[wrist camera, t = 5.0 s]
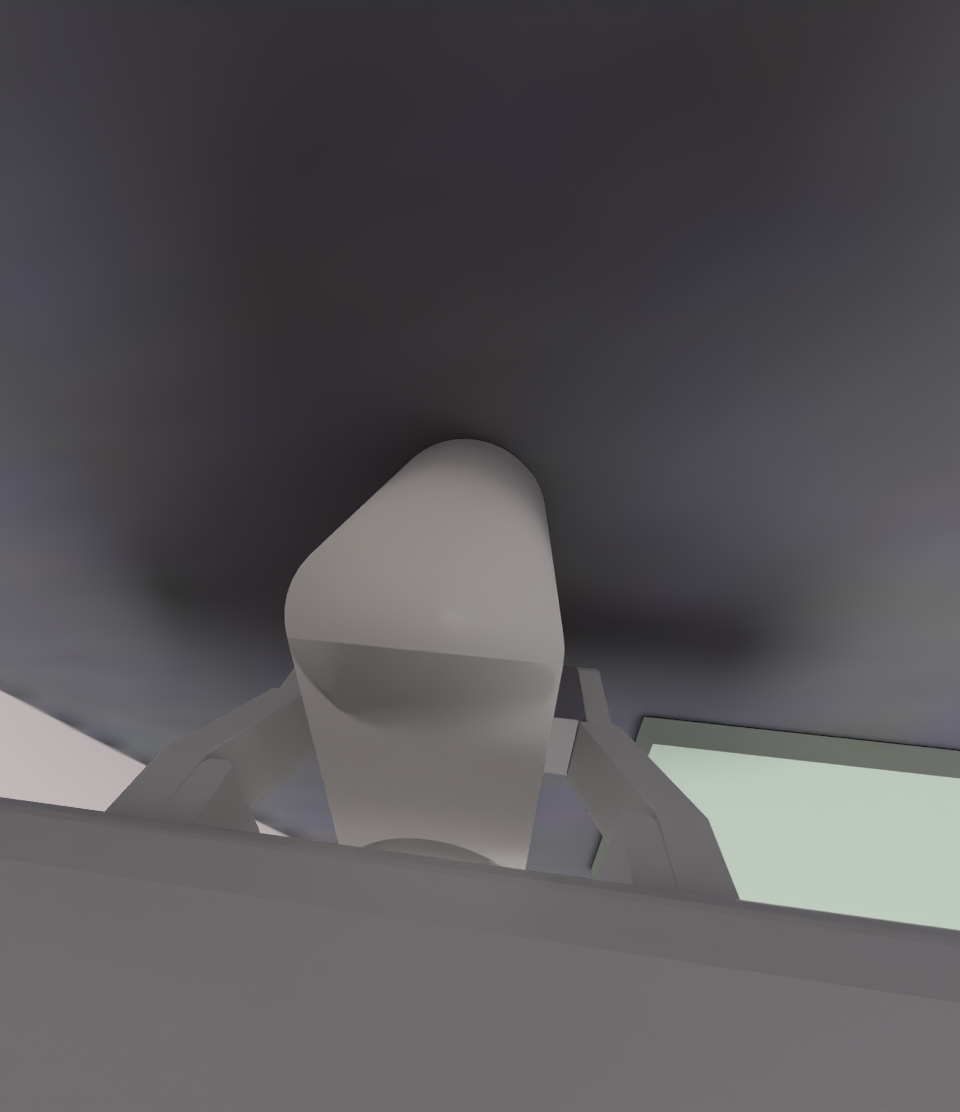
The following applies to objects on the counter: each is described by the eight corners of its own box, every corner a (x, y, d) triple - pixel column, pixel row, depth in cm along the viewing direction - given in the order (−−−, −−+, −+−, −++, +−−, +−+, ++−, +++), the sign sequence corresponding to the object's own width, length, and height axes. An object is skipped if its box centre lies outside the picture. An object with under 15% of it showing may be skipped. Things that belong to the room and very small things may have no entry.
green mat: (643, 716, 13) (653, 744, 12) (1117, 768, 12) (1165, 801, 11) (591, 869, 17) (594, 897, 16) (925, 915, 16) (948, 947, 15)
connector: (385, 433, 9) (253, 508, 5) (555, 443, 9) (588, 534, 4) (411, 788, 16) (367, 959, 11) (509, 801, 15) (504, 981, 11)
